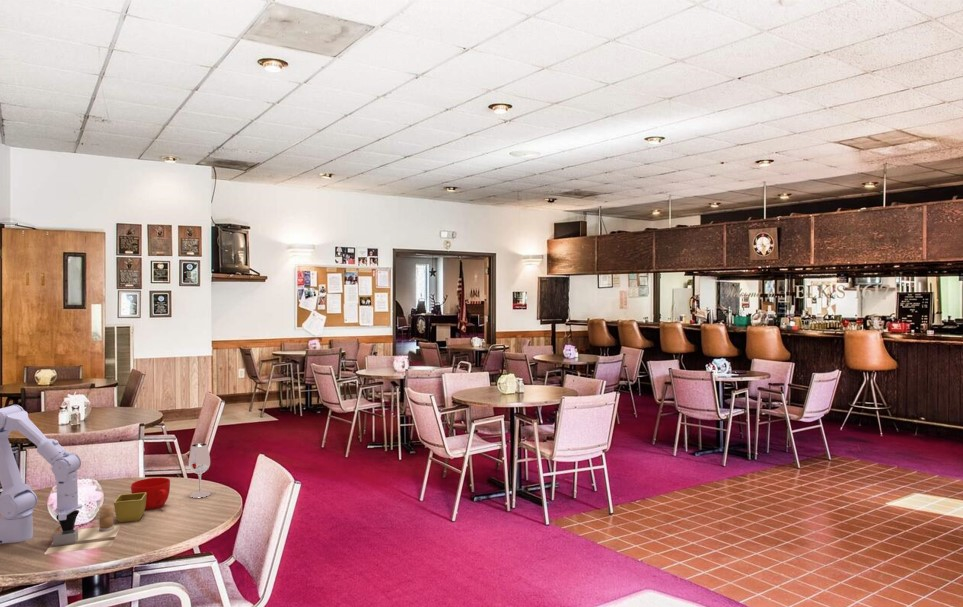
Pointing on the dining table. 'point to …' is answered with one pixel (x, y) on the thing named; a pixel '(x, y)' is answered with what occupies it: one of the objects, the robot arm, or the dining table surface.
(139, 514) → the flower pot
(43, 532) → the dining table surface
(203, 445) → the wineglass
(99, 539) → the board
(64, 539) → the box
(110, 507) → the brown cylinder
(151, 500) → the ceramic cup
